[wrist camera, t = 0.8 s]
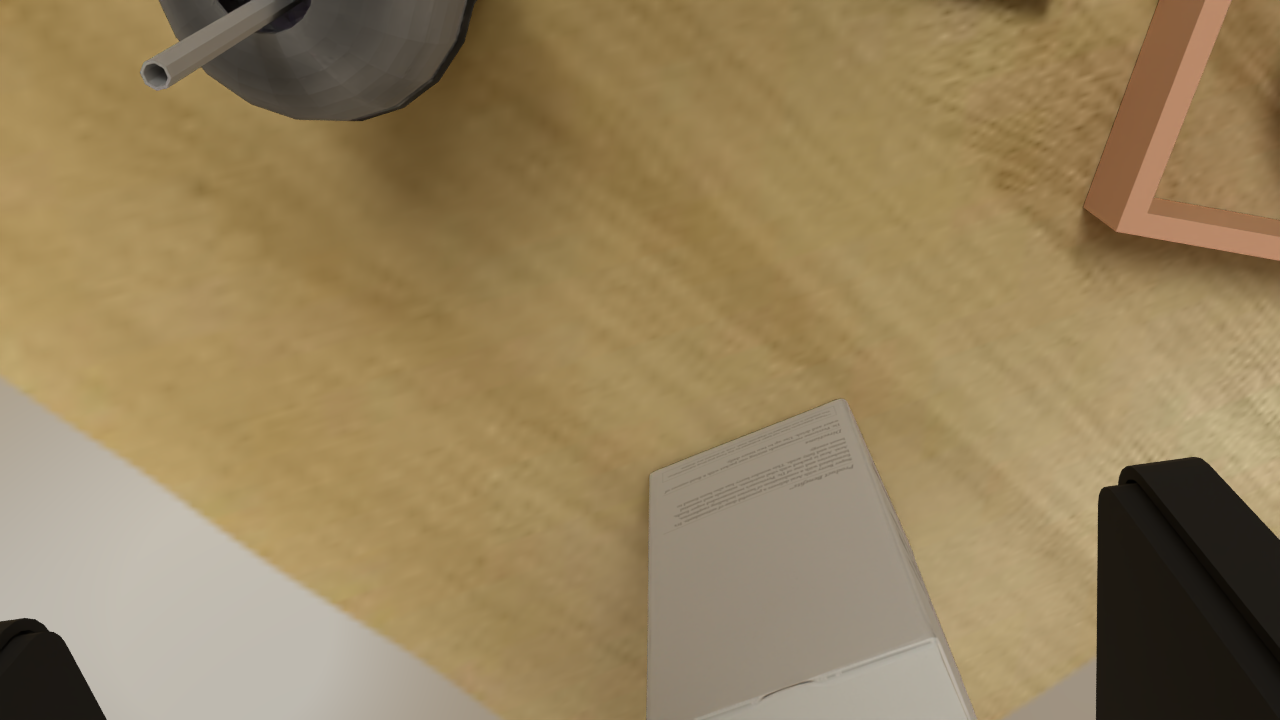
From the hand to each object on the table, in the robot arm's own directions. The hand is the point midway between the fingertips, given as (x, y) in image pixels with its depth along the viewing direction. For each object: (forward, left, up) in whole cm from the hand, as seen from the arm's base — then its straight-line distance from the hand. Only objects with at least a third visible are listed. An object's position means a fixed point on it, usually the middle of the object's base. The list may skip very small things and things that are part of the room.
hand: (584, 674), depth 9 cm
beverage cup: (-4, -8, -30) cm, 31 cm away
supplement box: (+16, +9, -30) cm, 35 cm away
